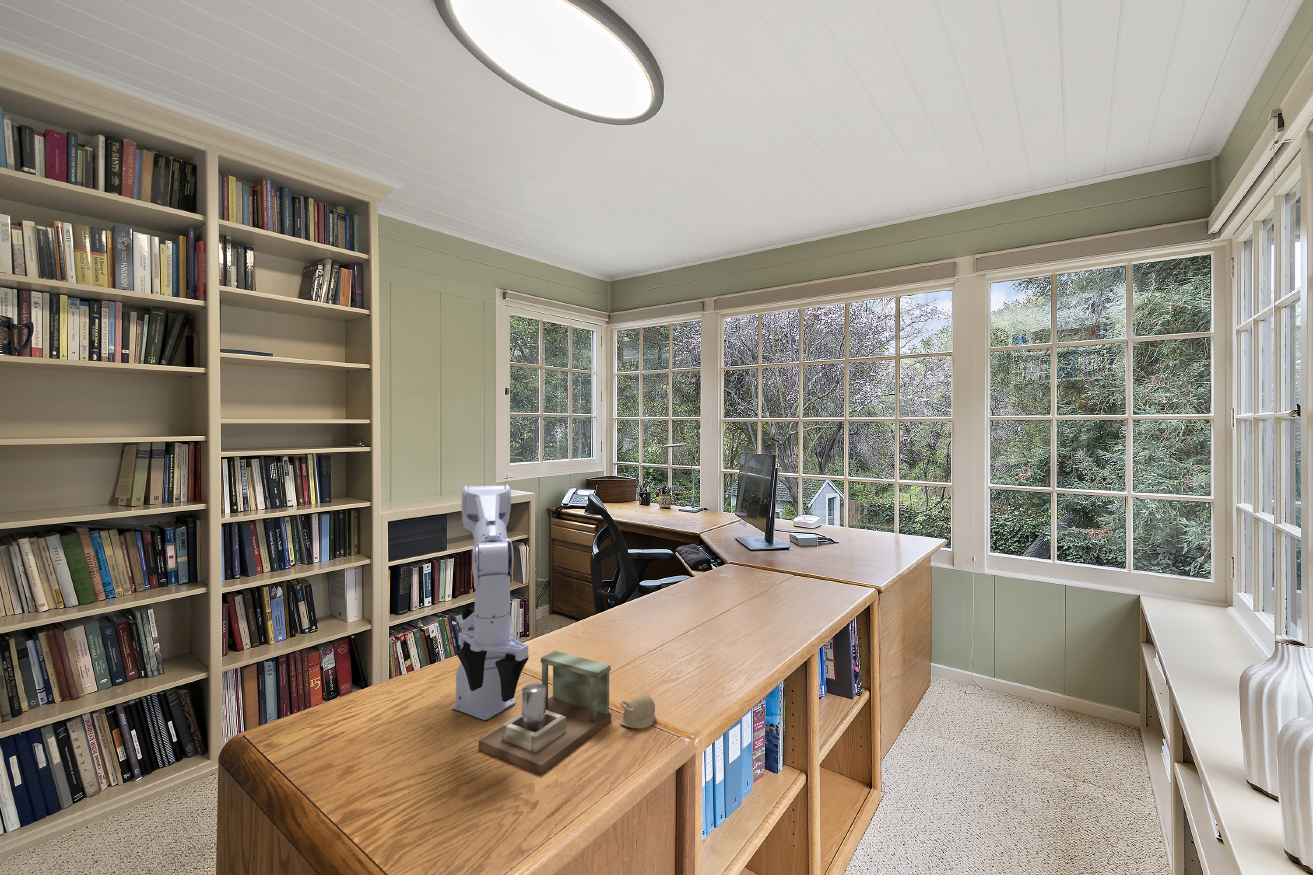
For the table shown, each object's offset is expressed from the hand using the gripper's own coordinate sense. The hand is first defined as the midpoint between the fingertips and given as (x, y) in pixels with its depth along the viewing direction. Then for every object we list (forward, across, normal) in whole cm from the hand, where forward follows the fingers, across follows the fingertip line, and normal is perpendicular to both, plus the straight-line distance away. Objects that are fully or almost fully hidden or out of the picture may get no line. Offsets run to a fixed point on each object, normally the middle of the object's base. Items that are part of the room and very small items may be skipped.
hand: (492, 693), depth 92 cm
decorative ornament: (+10, +16, +20) cm, 28 cm away
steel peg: (+8, +5, +5) cm, 11 cm away
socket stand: (+9, +5, +8) cm, 14 cm away
